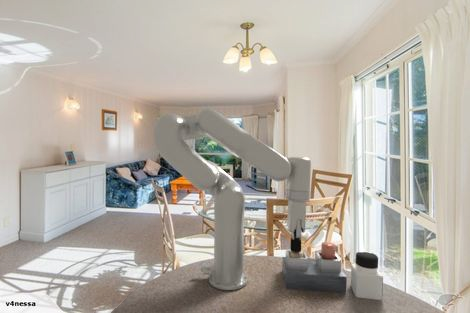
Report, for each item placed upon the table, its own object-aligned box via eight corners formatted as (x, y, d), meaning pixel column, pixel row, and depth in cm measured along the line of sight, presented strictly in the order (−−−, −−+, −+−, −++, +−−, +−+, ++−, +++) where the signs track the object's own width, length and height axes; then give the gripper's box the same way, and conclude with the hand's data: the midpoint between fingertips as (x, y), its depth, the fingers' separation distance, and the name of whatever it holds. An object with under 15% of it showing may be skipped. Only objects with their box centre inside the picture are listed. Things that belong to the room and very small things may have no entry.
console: (285, 289, 81) (285, 261, 80) (282, 270, 93) (282, 246, 92) (346, 293, 79) (346, 264, 79) (335, 273, 91) (335, 249, 91)
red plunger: (322, 258, 83) (323, 246, 83) (320, 253, 87) (320, 241, 87) (336, 259, 83) (337, 247, 83) (333, 254, 87) (333, 242, 87)
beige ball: (290, 266, 84) (290, 254, 84) (289, 261, 88) (289, 249, 88) (304, 267, 84) (304, 255, 84) (301, 261, 88) (302, 249, 88)
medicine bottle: (382, 301, 75) (384, 259, 75) (355, 297, 77) (357, 257, 76) (374, 288, 82) (375, 250, 82) (350, 285, 84) (351, 248, 83)
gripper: (283, 190, 93) (282, 242, 94) (288, 199, 78) (286, 259, 79) (305, 191, 92) (303, 243, 93) (314, 200, 77) (311, 261, 78)
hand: (295, 250), depth 86 cm, fingers closed
